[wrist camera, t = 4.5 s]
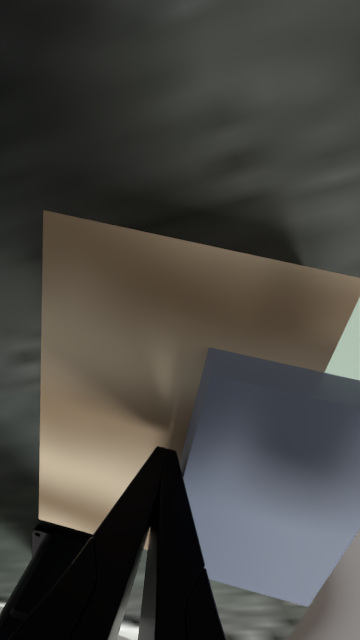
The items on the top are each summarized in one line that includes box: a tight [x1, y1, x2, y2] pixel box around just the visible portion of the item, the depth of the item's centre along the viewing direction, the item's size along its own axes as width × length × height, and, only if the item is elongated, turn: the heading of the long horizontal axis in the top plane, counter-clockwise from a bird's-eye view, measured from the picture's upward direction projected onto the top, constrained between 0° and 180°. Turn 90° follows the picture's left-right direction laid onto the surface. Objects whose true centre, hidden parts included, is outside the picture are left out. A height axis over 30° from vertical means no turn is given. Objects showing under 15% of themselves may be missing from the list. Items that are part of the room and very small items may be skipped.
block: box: [179, 347, 360, 607], centre depth 8 cm, size 9×6×2 cm, turn 169°
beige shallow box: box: [39, 210, 360, 550], centre depth 11 cm, size 16×11×4 cm
